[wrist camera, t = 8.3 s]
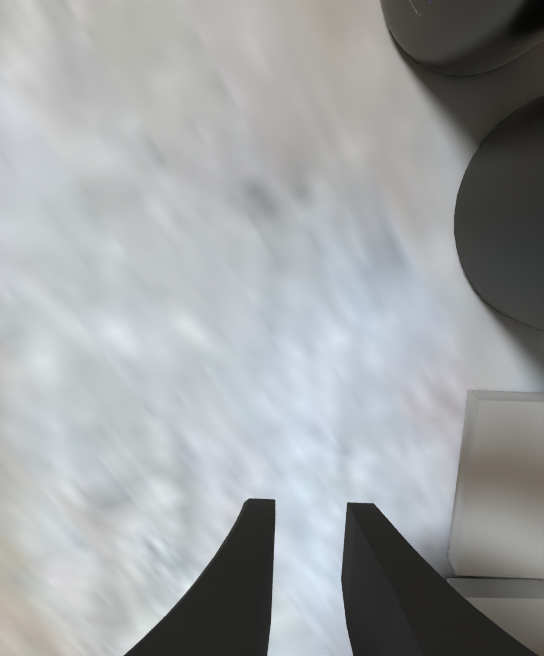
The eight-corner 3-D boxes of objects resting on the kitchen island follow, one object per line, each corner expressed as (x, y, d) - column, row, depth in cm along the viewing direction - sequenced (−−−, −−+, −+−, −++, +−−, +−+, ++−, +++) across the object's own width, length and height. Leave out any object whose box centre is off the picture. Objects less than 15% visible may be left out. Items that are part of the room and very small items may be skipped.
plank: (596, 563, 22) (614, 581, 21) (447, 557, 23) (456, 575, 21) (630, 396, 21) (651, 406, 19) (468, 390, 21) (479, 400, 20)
